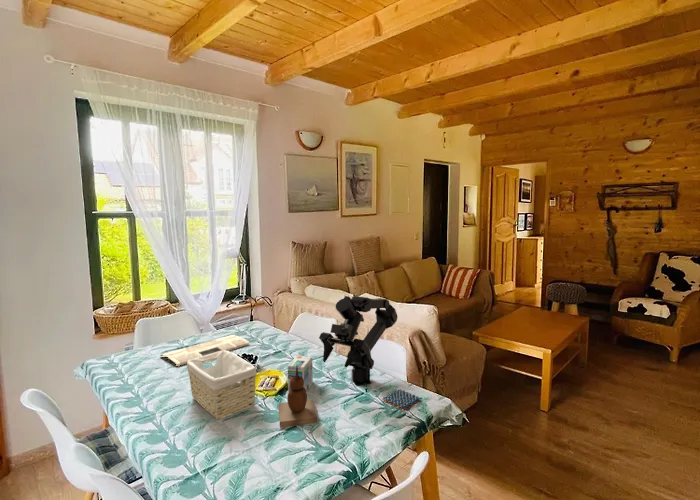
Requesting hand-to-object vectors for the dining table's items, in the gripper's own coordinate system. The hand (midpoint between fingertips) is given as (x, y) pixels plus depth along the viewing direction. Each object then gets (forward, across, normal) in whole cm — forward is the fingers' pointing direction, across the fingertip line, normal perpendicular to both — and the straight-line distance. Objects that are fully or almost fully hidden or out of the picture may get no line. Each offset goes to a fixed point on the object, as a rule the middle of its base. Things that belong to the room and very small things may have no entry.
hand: (334, 364), depth 138 cm
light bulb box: (+9, -17, +11) cm, 22 cm away
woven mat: (+2, +20, +19) cm, 28 cm away
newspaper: (+4, -83, +16) cm, 84 cm away
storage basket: (+25, -34, -6) cm, 43 cm away
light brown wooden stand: (+20, -5, -1) cm, 21 cm away
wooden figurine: (+19, -5, -2) cm, 19 cm away
